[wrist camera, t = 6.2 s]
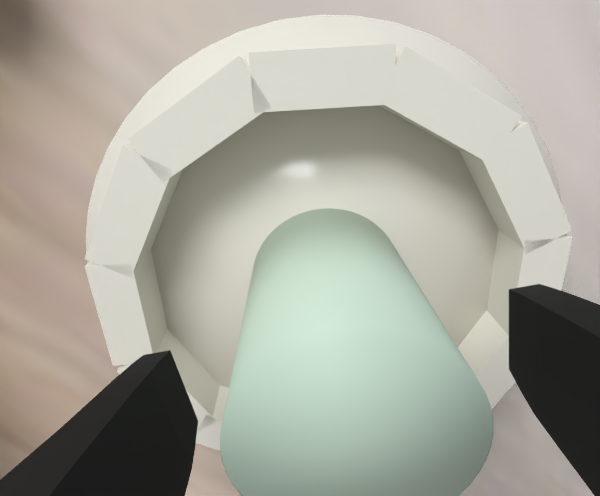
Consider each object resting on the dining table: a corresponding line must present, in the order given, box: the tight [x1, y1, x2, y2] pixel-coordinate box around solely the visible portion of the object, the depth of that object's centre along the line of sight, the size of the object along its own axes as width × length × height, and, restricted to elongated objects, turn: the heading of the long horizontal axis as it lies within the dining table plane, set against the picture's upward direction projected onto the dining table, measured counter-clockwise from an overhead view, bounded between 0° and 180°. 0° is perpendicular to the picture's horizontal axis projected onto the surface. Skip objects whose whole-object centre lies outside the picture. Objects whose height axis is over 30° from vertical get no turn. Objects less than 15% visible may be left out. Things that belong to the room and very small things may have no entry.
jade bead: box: [220, 208, 493, 496], centre depth 9 cm, size 4×4×6 cm
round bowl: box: [85, 15, 573, 451], centre depth 12 cm, size 14×14×2 cm
